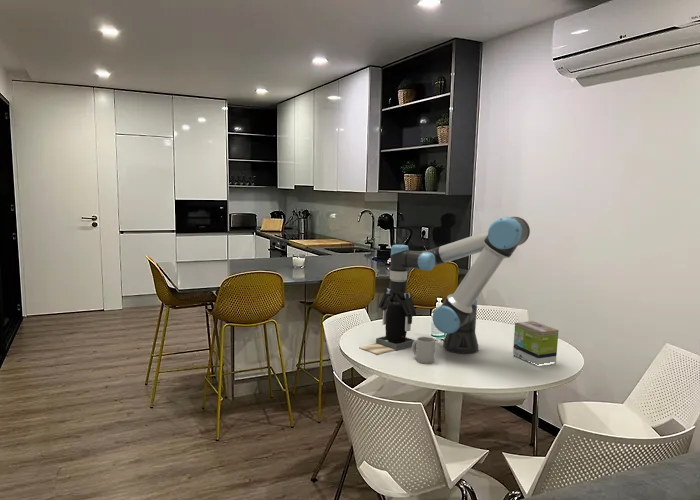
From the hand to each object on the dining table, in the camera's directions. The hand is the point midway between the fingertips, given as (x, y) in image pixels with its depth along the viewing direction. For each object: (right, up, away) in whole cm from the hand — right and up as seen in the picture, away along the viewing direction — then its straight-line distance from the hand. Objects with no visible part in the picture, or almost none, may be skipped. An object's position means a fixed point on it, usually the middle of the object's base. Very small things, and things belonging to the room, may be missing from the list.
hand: (396, 327), depth 228 cm
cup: (+9, -11, -19) cm, 23 cm away
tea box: (+56, -12, -14) cm, 59 cm away
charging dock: (0, -8, +1) cm, 8 cm away
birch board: (-9, -8, -7) cm, 14 cm away
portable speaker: (0, -8, +1) cm, 8 cm away
